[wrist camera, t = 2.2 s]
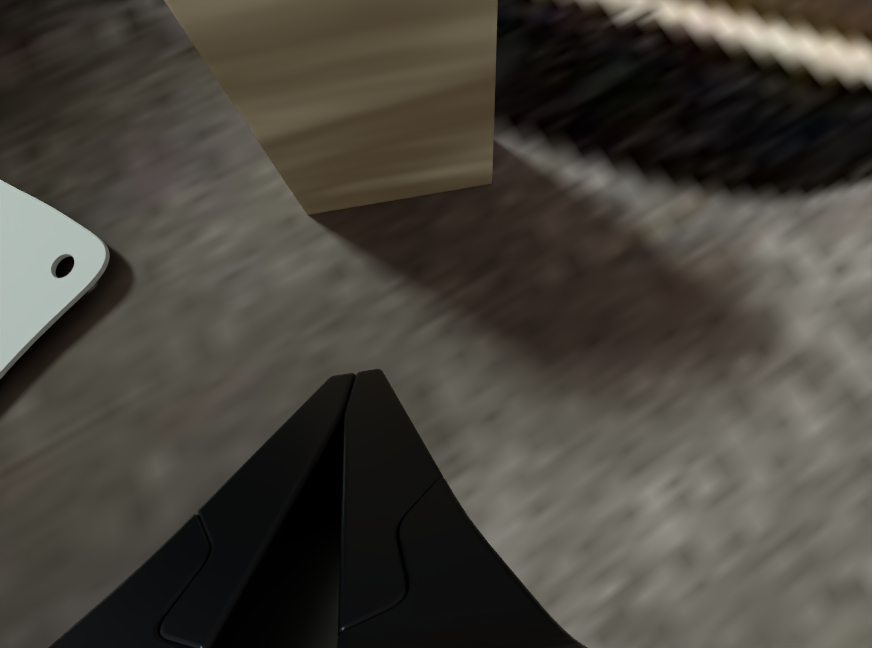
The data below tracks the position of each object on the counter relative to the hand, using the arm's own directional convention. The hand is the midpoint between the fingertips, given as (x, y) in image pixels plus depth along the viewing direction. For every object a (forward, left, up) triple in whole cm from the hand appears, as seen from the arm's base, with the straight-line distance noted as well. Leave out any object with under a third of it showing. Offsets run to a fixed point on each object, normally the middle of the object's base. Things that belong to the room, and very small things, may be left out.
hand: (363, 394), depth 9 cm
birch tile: (+10, -6, -12) cm, 17 cm away
